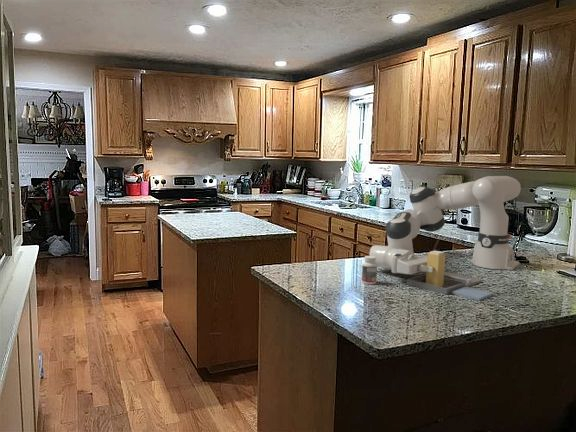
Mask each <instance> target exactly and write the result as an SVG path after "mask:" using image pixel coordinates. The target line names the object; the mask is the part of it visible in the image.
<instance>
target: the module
mask: <svg viewBox="0 0 576 432" xmlns="http://www.w3.org/2000/svg"><path fill="white" fill-rule="evenodd" d="M427 256H428V257H427V266H432V267H434V272H426V271H425V272H426V273H425V274H426V279H425V283H427V284H431V285H435V286H439V287H444V284H445V283H444V271H445V265H446V253H445V252H444V251H440V250H431V251H429V252H428V253H427Z"/></svg>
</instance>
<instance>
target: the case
mask: <svg viewBox="0 0 576 432" xmlns="http://www.w3.org/2000/svg"><path fill="white" fill-rule="evenodd" d="M424 280H425V281H426V273H424V274H420V275H416V276H412V277H409V278H407V279H406V285H409V286H411V287H412V286H413V287H417V288H419V289H424V290H427V291H431V292H436V293H438V294H443V295H449V294H451V293H452V291H454V290H457V289H460V288H462V287H465V286H467V287H471V286H475V285H477V284H479V283H482V282H483V279H481V278H478V277H477V278H476V277H471V276H468V275H464V274H459V273H454V272H449V271H445V270H444V283H443V284H446V285H450V286H449V287H444V286H442V287H439V286H435V285H431V284H427V283H426V282H422V281H424Z"/></svg>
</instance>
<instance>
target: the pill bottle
mask: <svg viewBox="0 0 576 432" xmlns="http://www.w3.org/2000/svg"><path fill="white" fill-rule="evenodd" d="M363 260H364V261H363V262H362V264H361V265H362V266H361V282H362V283H363V284H364V285H375V284H376V283H377V278H378V277H377V275H378V266H377V264H376V263H375V257H374V256H369V255H365V256H364V259H363Z"/></svg>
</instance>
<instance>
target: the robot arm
mask: <svg viewBox="0 0 576 432" xmlns="http://www.w3.org/2000/svg"><path fill="white" fill-rule="evenodd" d="M521 186H522V185H521V183H520V181H518V179H517V178H514V177H512V176H508V175H487V176H484V177H481V178H479V179H477V180H473V181H468V182H463V183H460V184H459V183H458V184H454V185H450V186H448V187H444V188H442V189H441V190H439V191H437V190H436V189H434V188H431V187H429V186H419V187H417V188H415V189H414V190H412V191H411V192H410V194H409V201H410V203H411V205H412V208H413V209H411V208H409V209H405V210H403V211H401V212H398V213H397V214H396V215H394V217H393V218H392V219H390V220H389V221H388V222H387V223H386V224H385V226H384V228H385V233H386V238H387V245H379V244H375V245H372V246H371V247H370V249H369V253H368V254H369V255H368V256H374V257H375V263H376V264H377V267H380V268H383V269H387V270H391V273H392V274H402V275H403V274H404V275H414V274H417V273H422V272H434V267H432V266H427V257H428V254H427V255H425V254H424V255H422V254H421V255H418V256H417V255H416V254H415V252H414V248H413V247H414V246H413V239H415V238H416V237H417V236H418V234H419V232H420V231H421V230H422V231H425V232H429V233H430V232H431V233H432V232H436V231H439V230H440V229H442V228H443V227H444V226H445V224H446V221H445V216H444V215H443V213H442V212H443V211H442V210H459V209H466V208H471V207H476V206H477V207H478V206H479V207H478V208H479V214H480V218H479V219H480V220H479V232H478V235H477V242H476V243H475V244H474V247H473V248H474V249H473V255H472V258H470V259H469V262H470V263H472V265H474V266H476V267H479V268H484V269H492V270H511V271H513V270H514V269H516V268H517V267H518V266H519V265H520V261H518V260H515V250H514V249H513V248H512V246H511V245H510V244H509V243H510V240H511V238H512V234H510V233H508V230H509V221H510V220H509V218H510V217H509V215H508V214H507V212H506V210H505V205H504V202H509V201H511V200H513V199H516V198H517V197H518V196H519V195H520V193H521V190H522V187H521Z"/></svg>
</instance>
